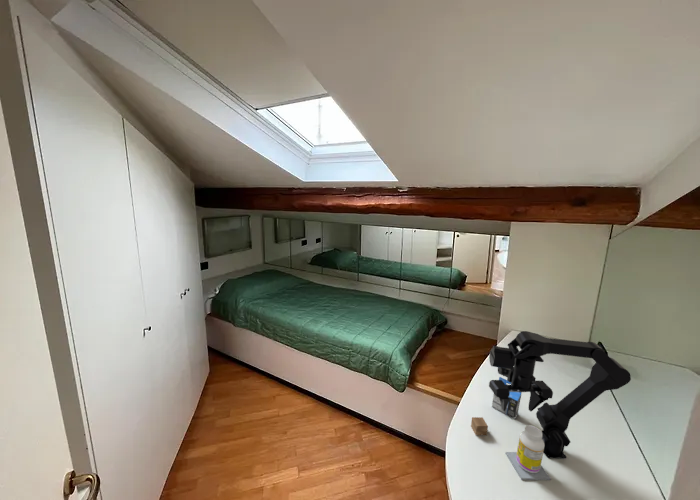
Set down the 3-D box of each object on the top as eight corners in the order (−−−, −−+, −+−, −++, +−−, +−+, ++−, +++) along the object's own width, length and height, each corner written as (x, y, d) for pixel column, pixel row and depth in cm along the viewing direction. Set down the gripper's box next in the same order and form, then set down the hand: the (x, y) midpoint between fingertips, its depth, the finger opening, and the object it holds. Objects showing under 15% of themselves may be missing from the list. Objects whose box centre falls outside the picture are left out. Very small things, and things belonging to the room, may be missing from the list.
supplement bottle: (517, 451, 97) (523, 418, 95) (541, 463, 93) (547, 429, 91) (513, 465, 92) (519, 431, 90) (538, 478, 88) (545, 443, 86)
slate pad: (531, 453, 98) (532, 452, 97) (550, 479, 89) (550, 478, 89) (505, 453, 97) (505, 451, 97) (521, 479, 89) (521, 478, 88)
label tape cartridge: (491, 406, 118) (495, 380, 116) (495, 402, 121) (498, 376, 118) (514, 419, 112) (519, 391, 109) (518, 414, 115) (522, 387, 112)
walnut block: (481, 426, 108) (482, 417, 108) (486, 435, 104) (487, 426, 104) (470, 426, 108) (472, 417, 107) (475, 435, 104) (476, 426, 104)
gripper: (535, 356, 104) (528, 394, 107) (484, 355, 104) (479, 393, 107) (557, 376, 93) (549, 417, 96) (500, 375, 93) (494, 417, 96)
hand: (516, 410), depth 99 cm, fingers open, 9 cm apart
